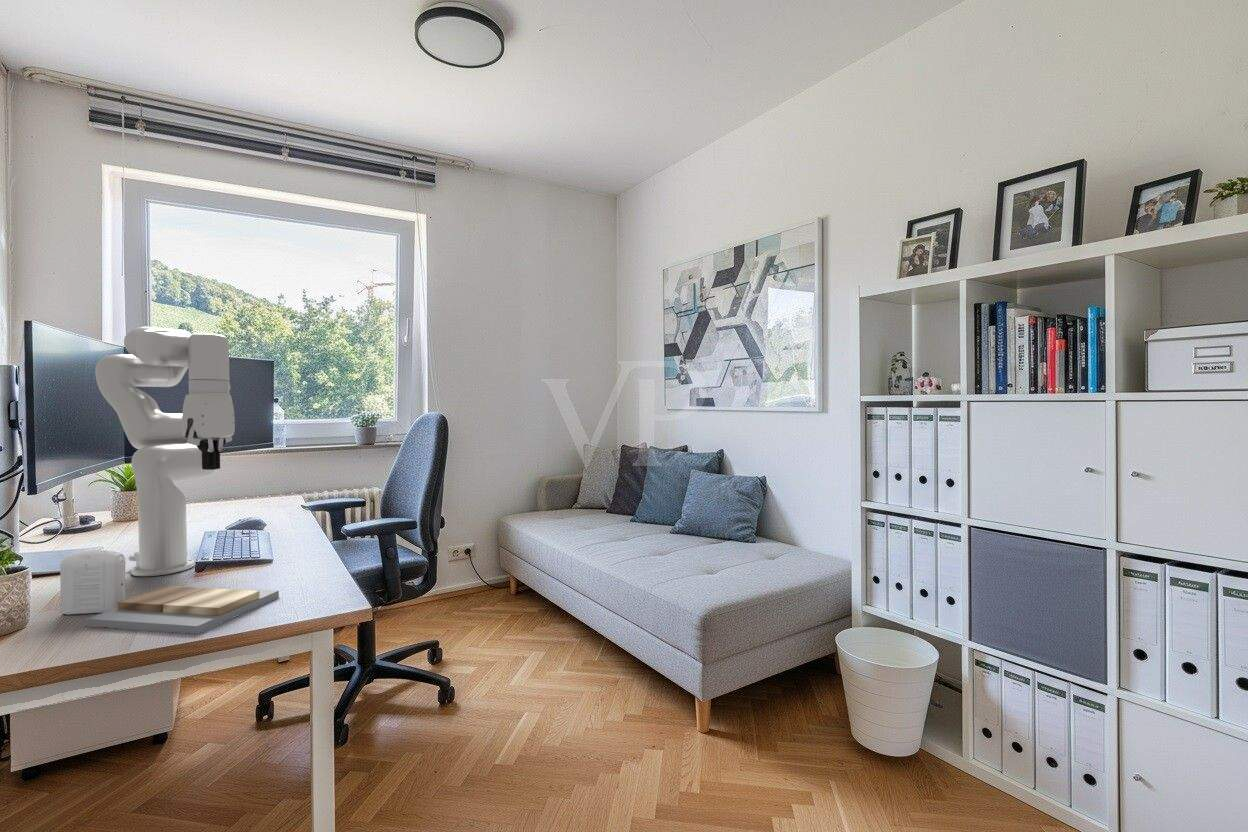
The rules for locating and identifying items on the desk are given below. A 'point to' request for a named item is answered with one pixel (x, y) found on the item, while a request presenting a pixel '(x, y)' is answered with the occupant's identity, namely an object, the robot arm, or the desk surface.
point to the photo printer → (92, 581)
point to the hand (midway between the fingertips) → (211, 469)
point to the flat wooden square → (156, 598)
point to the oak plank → (211, 601)
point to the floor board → (174, 616)
